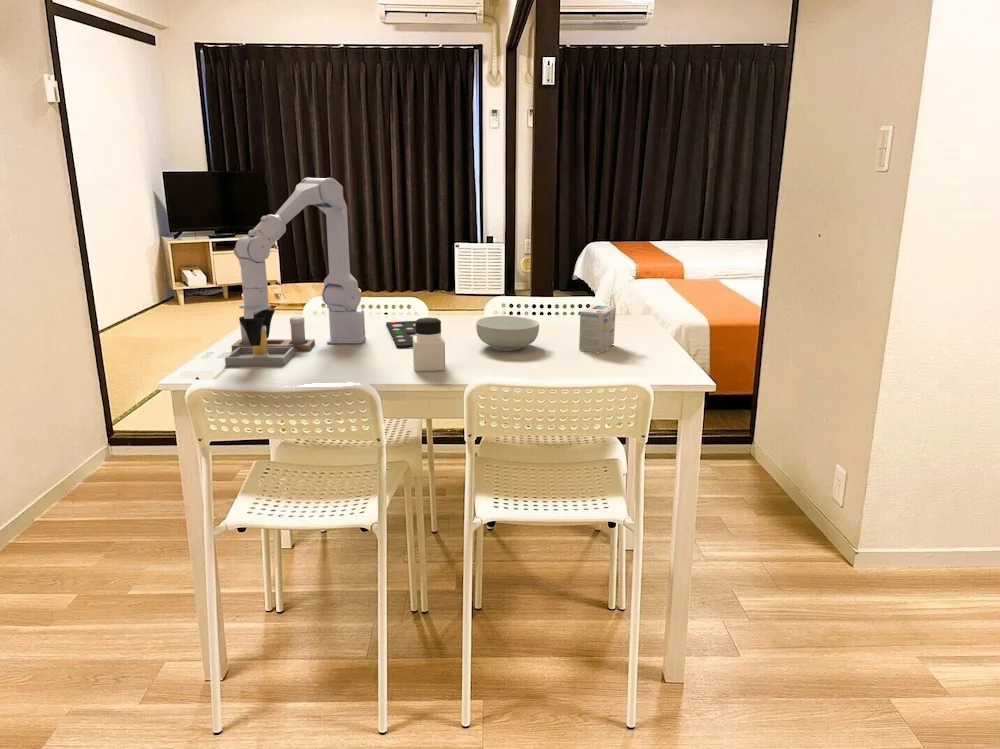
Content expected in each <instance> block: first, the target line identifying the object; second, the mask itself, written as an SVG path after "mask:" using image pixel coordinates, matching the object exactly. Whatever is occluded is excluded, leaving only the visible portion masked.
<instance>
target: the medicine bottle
mask: <svg viewBox="0 0 1000 749" xmlns="http://www.w3.org/2000/svg"><path fill="white" fill-rule="evenodd" d="M415 321H416V322H415V328H416V336H413V348H412V353H413V356H412V357H413V360H412V361H413V363H412V364H413V368H414V371H415V372H418V373H419V372H435V371H437V372H439V371H442V372H443V371H445V370H446V355H445V354H446V349H445V348H446V347H445V346H446V345H445V344H446V343H445V341H444V338H443V336H442V321H441V320H440V319H439V318H437V317H433V316H432V317H429V316H427V317H420V318H417V319H416V320H415Z"/></svg>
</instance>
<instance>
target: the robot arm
mask: <svg viewBox="0 0 1000 749" xmlns="http://www.w3.org/2000/svg"><path fill="white" fill-rule="evenodd" d="M310 205H311V206H315V207H317V208H318V209H319V210H320V211H321V212H323V213H324V214H325V216H326V217H325V218H326V222H325V223H326V236H327V254H328V255H327V258H328V275H327V276H326V277H325V278H324V280H323V289H322V292H321V297H322V298H321V299H322V301H323V303H324V304H325V305H326V308H327V309H328V320H329V322H328V324H329V336H330V337H329V338H328V340H326V344H363V342H364V340H365V339H366V326H365V325H366V322H365V313H364V309H361V308H358V307H359V305H360V304H361V300H362V293H361V291H360V289H359V285H358V280H357V279H356V278H355V277H354V276H353V275H352V273H351V265H350V262H351V261H350V247H349V246H350V244H349V224H348V223H349V222H348V221H349V220H348V206H347V203H346V201H345V198H344V187H343V185H342V184H341V183H339V182H338V180H336V179H335V178H333V177H325V178H323V177H321V178H320V177H310V176H309V177H305V178H303V179H302V180H301V181H300V182H299V183H298V184H296V186H295V190H294V191H293V192H292V194H291V195H290V196H288V198H287V199H286V201H284V203H283V204H282V205H281V207H280V208H279V209H278V210H277V211H276V212H275V214H267V215H262V216H261V218H260V221H259V223H257V225H256V226H255V227H253V229H250V230H249V231H248V235H246V236H245V235H244V236H241V237H240V238H239V239H238V240H237V241H236V243H235V246H234V247H235V248H233V253H234V256H235V257H236V258H237V259H238V263H239V266H240V274H241V275H240V276H241V284H242V285H241V286H242V296H243V304H239V306H238V307H239V309H243V316H240V317H239V319H238V320H239V324H240V323H241V324H242V325H243V327H244V329H245V331H246V333H247V336H248V339H249V342H250V345H251V346H259V345H260V343H261V330H262V325H265V326H266V330H267V331H266V336H267V339H269V337H270V331H271V323H272V320H273V316H274V314H275V308H270V307H271V306H270V305H271V304H270V301H269V292H268V291H269V290H268V280H267V269H266V268H267V265H266V259H268V258H270V257H269V256H270V254H271V248H272V247H273V245H274V244H275V243H277V241H278V240H279V239H280V238H282V236H284V234H285V233H286V231H287V227H286V225H287V224H288V223H289V222H291V220H292V219H294V218H295V217H296V216H297V215H298V214H299V213H300V212H301V211H302V210H303V209H305V207H307V206H310Z"/></svg>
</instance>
